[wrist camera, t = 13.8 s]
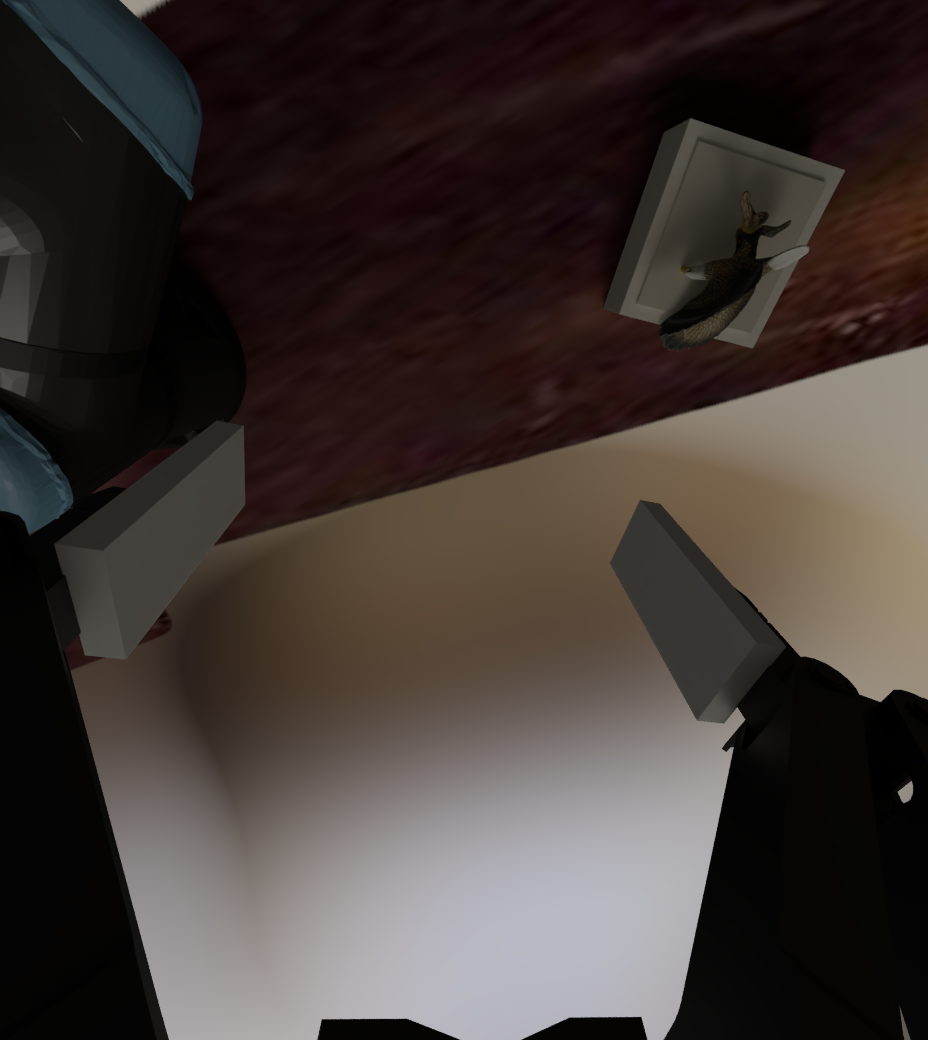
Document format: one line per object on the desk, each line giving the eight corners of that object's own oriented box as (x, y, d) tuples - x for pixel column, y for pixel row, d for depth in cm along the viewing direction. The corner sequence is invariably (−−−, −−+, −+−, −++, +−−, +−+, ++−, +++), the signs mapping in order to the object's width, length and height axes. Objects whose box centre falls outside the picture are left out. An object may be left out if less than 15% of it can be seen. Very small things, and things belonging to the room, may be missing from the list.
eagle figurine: (685, 191, 30) (627, 328, 33) (803, 185, 25) (723, 346, 28) (723, 243, 35) (670, 357, 38) (826, 246, 31) (757, 377, 33)
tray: (602, 308, 39) (620, 314, 35) (664, 132, 33) (692, 117, 29) (726, 340, 41) (754, 348, 37) (804, 178, 35) (848, 169, 31)
